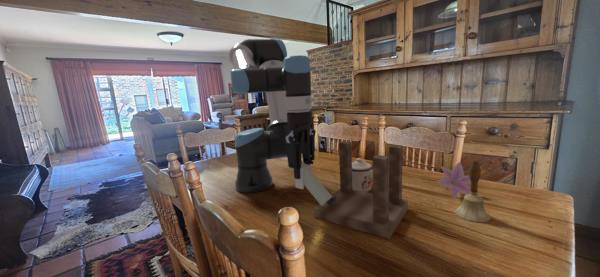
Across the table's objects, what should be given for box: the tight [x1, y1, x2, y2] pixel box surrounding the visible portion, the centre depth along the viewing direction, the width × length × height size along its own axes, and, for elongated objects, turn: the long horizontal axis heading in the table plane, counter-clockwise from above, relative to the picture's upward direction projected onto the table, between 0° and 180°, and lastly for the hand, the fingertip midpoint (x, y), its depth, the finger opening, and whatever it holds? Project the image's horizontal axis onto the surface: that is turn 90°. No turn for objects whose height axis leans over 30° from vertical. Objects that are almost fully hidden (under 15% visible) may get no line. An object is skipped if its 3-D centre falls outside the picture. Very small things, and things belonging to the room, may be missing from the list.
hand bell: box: [454, 159, 492, 223], centre depth 70 cm, size 8×8×16 cm
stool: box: [313, 140, 409, 240], centre depth 74 cm, size 22×18×20 cm
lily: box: [437, 161, 471, 199], centre depth 85 cm, size 12×12×10 cm
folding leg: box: [290, 159, 332, 206], centre depth 77 cm, size 3×3×15 cm
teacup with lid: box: [352, 157, 373, 193], centre depth 95 cm, size 12×9×12 cm
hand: (303, 185), depth 79 cm, fingers closed on folding leg, 3 cm apart
